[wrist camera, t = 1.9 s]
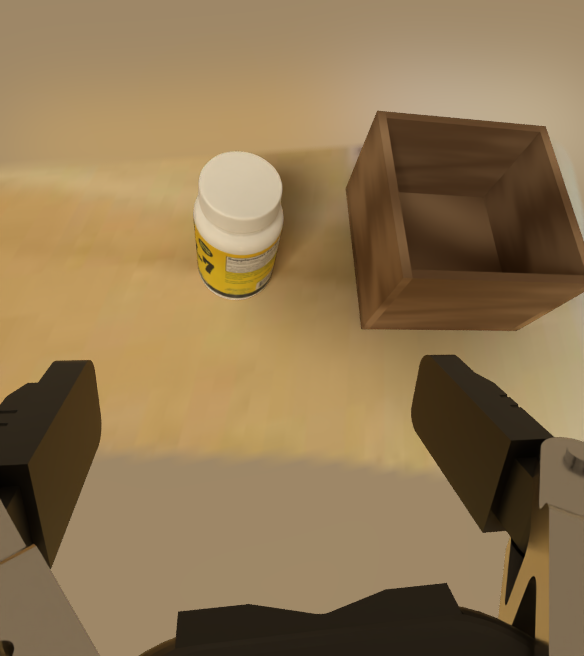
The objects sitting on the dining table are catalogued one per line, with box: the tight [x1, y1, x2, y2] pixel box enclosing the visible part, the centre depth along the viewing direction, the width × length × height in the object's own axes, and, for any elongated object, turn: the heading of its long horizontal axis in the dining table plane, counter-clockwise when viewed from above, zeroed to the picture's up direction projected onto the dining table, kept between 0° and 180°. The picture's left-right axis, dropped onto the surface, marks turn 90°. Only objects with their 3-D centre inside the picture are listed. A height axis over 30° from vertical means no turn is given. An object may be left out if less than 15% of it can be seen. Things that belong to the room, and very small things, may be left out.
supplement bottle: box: [193, 151, 284, 300], centre depth 25 cm, size 5×5×8 cm
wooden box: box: [346, 111, 584, 331], centre depth 28 cm, size 11×11×7 cm
